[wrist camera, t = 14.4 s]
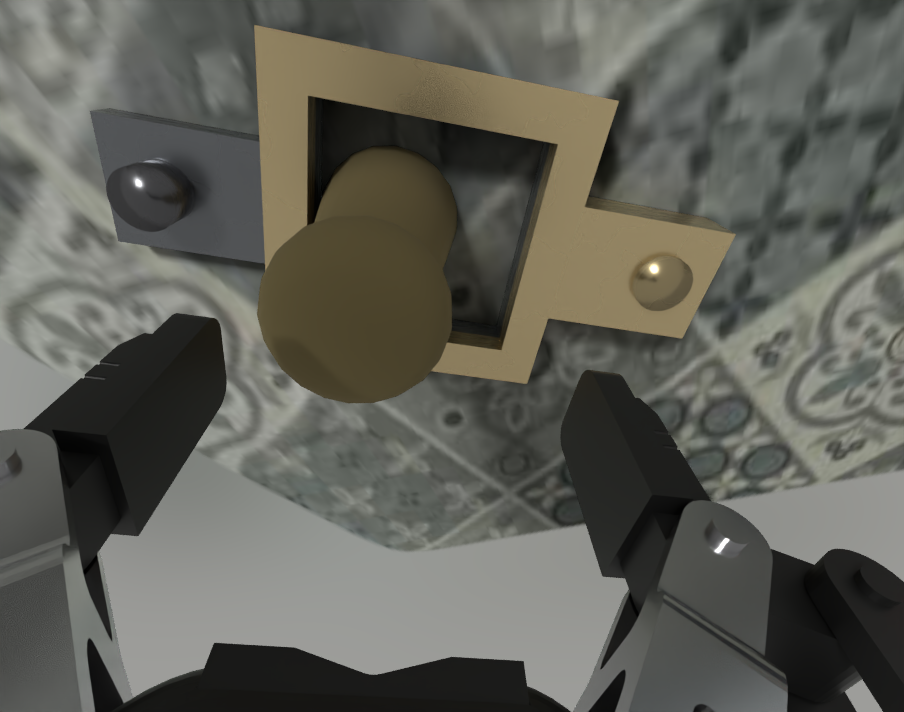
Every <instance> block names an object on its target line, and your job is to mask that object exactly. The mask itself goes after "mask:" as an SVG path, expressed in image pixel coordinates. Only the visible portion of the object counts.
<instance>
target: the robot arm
mask: <svg viewBox="0 0 904 712" xmlns="http://www.w3.org/2000/svg"><path fill="white" fill-rule="evenodd" d="M225 392H226V370H225V361H224V353H223V344H222V335H221V328H220V324H219V322H218V320H217V319H215V318H209V317H201V316H194V315H187V314H179V313H176V314H173V315H172V316H171V317H170V318H169V319H168V320H167V321H166V322H164V323H163V324H162V325H161V326H160V327H159V328H158V329H157V330H156V331H155V332H154V333H153V334H147V333H144V334H142V335H139V336H137V337H135V338H133V339H131V340H129V341H126V342H124V343H122V344H120V345H118V346H117V347H116V348H114V349H113V350H112V351H111V352H110V353H109V354H108V355H107V356H105V357H104V358H103V359H102V360H101V361H100V365H95V366H94V367H93V368H92V369H91V370H90V371H88V372H87V373H86V374H85V378H84V379H83V378H81V379H79V380H78V381H77V382H76V383H75V384H74V385H73V386H71V387H70V388H69V389H68V390H67V391H66V392H65V393H64V394H62V395H61V396H60V397H59V398H58V399H57V400H56V401H55V402H53V403H52V404H51V405H50V406H49V407H48V408H47V409H46V410H44V411H43V412H42V413H41V414H40V415H39V416H37V417H36V418H35V419H34V420H33V421H32V422H31V423H30V424H28V425H27V426H26V427H25V428H24V429H12V430H3V431H0V712H570V711H569V710H568V709H567V708H565V707H564V706H562V705H561V704H559V703H558V702H556V701H555V700H554V699H552V698H550V697H548V696H547V695H545V694H543V693H541V692H539V691H537V690H535V689H533V688H530V687H527V683H526V676H525V669H524V662H523V661H510V660H494V659H477V658H461V657H450V658H446V659H441V660H437V661H433V662H429V663H425V664H421V665H416V666H412V667H409V668H404V669H400V670H396V671H392V672H387V673H384V674H378V675H369V674H365V673H362V672H359V671H356V670H354V669H351V668H348V667H346V666H343V665H340V664H337V663H335V662H332V661H329V660H327V659H324V658H321V657H319V656H316V655H313V654H310V653H307V652H305V651H302V650H300V649H297V648H291V647H274V646H258V645H241V644H224V643H214V645H213V647H212V650H211V652H210V655H209V658H208V660H207V663H206V665H205V668H204V669H201V670H196V671H192V672H189V673H186V674H183V675H180V676H178V677H175V678H172V679H169V680H167V681H165V682H163V683H161V684H158V685H157V686H154V687H152V688H150V689H148V690H146V691H144V692H142V693H141V694H139V695H137V696H136V697H134V698H133V696H132V693H131V688H130V685H129V682H128V678H127V675H126V672H125V669H124V665H123V662H122V658H121V654H120V649H119V645H118V640H117V635H116V629H115V624H114V619H113V614H112V609H111V603H110V598H109V593H108V588H107V583H106V578H105V573H104V568H103V562H102V558H101V555H100V553H99V550H100V549H101V547H102V546H103V544H104V543H105V541H106V540H107V538H108V537H109V535H110V534H120V535H131V536H139V534H140V533H141V531H142V529H143V528H144V526H145V525H146V523H147V522H148V520H149V518H150V517H151V515H152V514H153V512H154V510H155V509H156V507H157V506H158V504H159V503H160V501H161V499H162V498H163V496H164V495H165V493H166V492H167V490H168V488H169V487H170V485H171V484H172V482H173V481H174V479H175V477H176V476H177V474H178V473H179V471H180V470H181V468H182V466H183V465H184V463H185V462H186V460H187V459H188V457H189V455H190V454H191V452H192V451H193V449H194V448H195V446H196V444H197V443H198V441H199V440H200V438H201V437H202V435H203V433H204V432H205V430H206V429H207V427H208V426H209V424H210V422H211V421H212V419H213V418H214V416H215V415H216V413H217V411H218V410H219V408H220V406H221V404H222V402H223V399H224V396H225ZM561 446H562V450H563V453H564V456H565V459H566V462H567V466H568V469H569V472H570V475H571V478H572V481H573V485H574V488H575V491H576V494H577V497H578V500H579V504H580V507H581V510H582V513H583V516H584V519H585V523H586V526H587V529H588V532H589V535H590V538H591V542H592V545H593V548H594V551H595V554H596V557H597V560H598V564H599V567H600V570H601V573H602V576H604V577H616V578H625V579H626V582H627V584H628V587H629V590H628V592H627V593H626V594H625V596H624V598H623V600H622V602H621V605H620V607H619V610H618V612H617V615H616V617H615V620H614V622H613V624H612V627H611V629H610V632H609V634H608V637H607V639H606V642H605V644H604V647H603V649H602V652H601V654H600V656H599V659H598V661H597V664H596V666H595V669H594V671H593V674H592V676H591V678H590V681H589V683H588V685H587V687H586V689H585V691H584V692H583V694H582V696H581V698H580V700H579V701H578V703H577V705H576V707H575V709H574V711H573V712H856V710H855V708H854V707H853V705H852V703H851V702H850V700H849V698H848V696H847V695H846V693H845V691H846V690H847V689H849V688H850V687H852V686H853V685H854V684H856V683H857V682H859V681H860V680H862V679H863V681H864V682H865V684H866V686H867V687H868V689H869V690H870V692H871V693H872V695H873V696H874V698H875V700H876V701H877V703H878V704H879V706H880V707H881V709H882V711H883V712H904V582H903V581H902V580H901V579H899V578H898V577H897V576H896V575H895V574H893V573H892V572H891V571H889V570H888V569H887V568H885V567H884V566H882V565H880V564H879V563H877V562H876V561H874V560H872V559H870V558H868V557H866V556H864V555H861V554H859V553H856V552H853V551H850V550H845V549H833V550H830V551H828V552H827V553H826V554H825V555H824V556H823V557H822V558H821V559H820V560H819V561H818V562H817V563H816V564H815V565H813V564H810V563H808V562H805V561H803V560H800V559H797V558H794V557H791V556H789V555H786V554H783V553H781V552H778V551H775V550H772V549H770V547H769V545H768V543H767V541H766V540H765V538H764V537H763V535H762V534H761V533H760V532H759V530H758V529H756V527H755V526H754V525H752V524H751V523H750V522H749V521H748V520H747V519H746V518H744V517H743V516H741V515H740V514H739V513H737V512H735V511H734V510H732V509H730V508H728V507H726V506H724V505H721V504H718V503H715V502H711V500H710V499H709V497H708V495H707V494H706V492H705V491H704V489H703V487H702V486H701V484H700V482H699V481H698V479H697V478H696V476H695V474H694V473H693V471H692V470H691V468H690V466H689V465H688V463H687V461H686V460H685V458H684V457H683V455H682V453H681V452H680V450H677V445H676V444H675V442H674V440H673V439H672V437H671V435H668V431H667V429H666V427H665V426H664V424H663V422H662V421H661V419H660V418H659V416H658V414H656V413H655V412H654V411H653V410H652V409H651V408H650V407H649V406H648V405H647V404H645V403H644V402H643V401H642V400H641V399H640V398H635V397H634V395H633V394H632V392H631V390H630V389H629V387H628V385H627V383H626V382H625V380H624V378H623V377H622V376H621V375H620V374H615V373H608V372H600V371H593V370H586V371H585V372H584V373H583V374H582V376H581V378H580V380H579V382H578V385H577V387H576V390H575V392H574V395H573V397H572V400H571V402H570V405H569V407H568V410H567V412H566V415H565V417H564V420H563V423H562V427H561Z"/></svg>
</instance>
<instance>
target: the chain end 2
mask: <svg viewBox="0 0 904 712" xmlns="http://www.w3.org/2000/svg"><path fill="white" fill-rule="evenodd" d="M254 30H255V52H256V74H257V96H258V118H259V140H260V163H261V185H262V207H263V229H264V251H265V271H266V269H267V267H268V265H269V263H270V261H271V259H272V257H273V256H274V254H275V252H276V251H277V250H278V249H279V248H280V247H281V246H282V245H283V244H284V243H285V242H287V241H288V240H289V239H290V238H291V237H292V236H294V235H295V234H296V233H297V232H298V231H300V230H301V229H302V228H303V227H304V226H307V225H310V224H313V223H314V195H315V126H316V97H318V98H324V99H329V100H334V101H339V102H344V103H349V104H354V105H359V106H365V107H370V108H375V109H380V110H385V111H390V112H395V113H401V114H406V115H411V116H416V117H421V118H426V119H431V120H436V121H442V122H447V123H452V124H457V125H462V126H467V127H472V128H477V129H483V130H488V131H493V132H498V133H503V134H508V135H513V136H518V137H524V138H529V139H534V140H539V141H544V142H549V143H550V147H549V151H548V155H547V158H546V162H545V166H544V170H543V173H542V177H541V181H540V185H539V188H538V192H537V196H536V200H535V203H534V207H533V211H532V215H531V218H530V222H529V226H528V230H527V233H526V237H525V241H524V245H523V248H522V252H521V256H520V260H519V264H518V267H517V271H516V275H515V279H514V282H513V286H512V290H511V294H510V297H509V301H508V305H507V309H506V312H505V316H504V320H503V324H502V327H501V331H500V335H499V337H492V336H485V335H478V334H471V333H464V332H457V331H451V333H450V336H449V338H448V341H447V344H446V347H445V349H444V352H443V354H442V356H441V358H440V360H439V362H438V363H437V364H436V366H435V367H434V368H433V369H432V370H431V371H434V372H441V373H449V374H456V375H464V376H471V377H479V378H486V379H494V380H501V381H509V382H516V383H524V384H527V382H528V379H529V376H530V373H531V370H532V367H533V364H534V361H535V358H536V355H537V352H538V349H539V346H540V342H541V339H542V336H543V333H544V330H545V327H546V324H547V321H548V318H549V319H556V320H563V321H569V322H576V323H583V324H589V325H596V326H602V327H609V328H616V329H622V330H629V331H636V332H642V333H649V334H655V335H662V336H669V337H675V338H683V336H684V334H685V332H686V330H687V328H688V326H689V324H690V322H691V320H692V318H693V316H694V315H695V313H696V311H697V309H698V307H699V305H700V303H701V301H702V299H703V297H704V295H705V293H706V291H707V289H708V287H709V285H710V283H711V282H712V280H713V278H714V276H715V274H716V272H717V270H718V268H719V266H720V264H721V262H722V260H723V258H724V256H725V254H726V252H727V250H728V248H729V247H730V245H731V243H732V241H733V239H734V237H735V235H736V234H734V233H733V232H731V231H729V230H727V229H726V228H724V227H722V226H720V225H719V224H717V223H715V222H713V221H711V220H710V219H708V218H705V217H699V216H694V215H688V214H683V213H677V212H672V211H667V210H661V209H656V208H650V207H645V206H639V205H634V204H628V203H623V202H617V201H612V200H607V199H601V198H596V197H590V196H588V195H589V192H590V189H591V185H592V182H593V179H594V176H595V173H596V170H597V167H598V164H599V161H600V158H601V155H602V152H603V149H604V145H605V142H606V139H607V136H608V133H609V130H610V127H611V124H612V121H613V118H614V115H615V112H616V109H617V105H618V102H619V101H616V100H611V99H606V98H602V97H597V96H592V95H587V94H583V93H578V92H573V91H568V90H563V89H559V88H554V87H549V86H544V85H539V84H535V83H530V82H525V81H520V80H516V79H511V78H506V77H501V76H496V75H492V74H487V73H482V72H477V71H472V70H468V69H463V68H458V67H453V66H449V65H444V64H439V63H434V62H429V61H425V60H420V59H415V58H410V57H406V56H401V55H396V54H391V53H386V52H382V51H377V50H372V49H367V48H362V47H358V46H353V45H348V44H343V43H339V42H334V41H329V40H324V39H319V38H315V37H310V36H305V35H300V34H295V33H291V32H286V31H281V30H276V29H272V28H267V27H262V26H257V25H254Z"/></svg>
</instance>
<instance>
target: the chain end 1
mask: <svg viewBox="0 0 904 712" xmlns="http://www.w3.org/2000/svg"><path fill="white" fill-rule="evenodd" d="M90 113H91V118H92V123H93V127H94V132H95V136H96V141H97V145H98V150H99V154H100V159H101V164H102V168H103V173H104V177H105V182H106V190H107V196H108V199H109V202H110V205H111V209H112V214H113V218H114V223H115V227H116V232H117V237H118V241H120V242H127V243H133V244H140V245H146V246H153V247H159V248H166V249H172V250H179V251H185V252H192V253H198V254H205V255H211V256H218V257H224V258H231V259H237V260H244V261H250V262H257V263H264V264H265V251H264V229H263V207H262V185H261V163H260V140H259V136H257V135H252V134H247V133H241V132H236V131H230V130H225V129H219V128H214V127H208V126H203V125H198V124H192V123H187V122H181V121H176V120H170V119H165V118H159V117H154V116H148V115H143V114H138V113H132V112H127V111H121V110H116V109H110V108H109V109H101V110H93V111H90ZM322 121H323V98H318V97H316V126H315V195H314V222H315V218H316V215H317V212H318V209H319V206H320V203H321V167H322ZM549 147H550V143H549V142H544V144H543V147H542V151H541V155H540V159H539V163H538V167H537V171H536V174H535V178H534V182H533V186H532V190H531V194H530V198H529V201H528V205H527V209H526V213H525V217H524V221H523V225H522V229H521V232H520V236H519V240H518V244H517V248H516V252H515V256H514V259H513V263H512V267H511V271H510V275H509V279H508V283H507V286H506V290H505V294H504V298H503V302H502V306H501V310H500V313H499V317H498V321H497V325H496V326H494V325H487V324H480V323H474V322H467V321H460V320H453V319H452V330H451V331H457V332H464V333H471V334H478V335H485V336H492V337H499V335H500V331H501V327H502V324H503V320H504V316H505V312H506V309H507V305H508V301H509V297H510V294H511V290H512V286H513V282H514V279H515V275H516V271H517V267H518V264H519V260H520V256H521V252H522V248H523V245H524V241H525V237H526V233H527V230H528V226H529V222H530V218H531V215H532V211H533V207H534V203H535V200H536V196H537V192H538V188H539V185H540V181H541V177H542V173H543V170H544V166H545V162H546V158H547V155H548V151H549Z"/></svg>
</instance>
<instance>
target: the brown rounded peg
mask: <svg viewBox="0 0 904 712" xmlns="http://www.w3.org/2000/svg"><path fill="white" fill-rule="evenodd" d="M456 230H457V206H456V203H455V200H454V197H453V193H452V190H451V187H450V185H449V184H448V182H447V181H446V179H445V178H444V177H443V175H442V174H441V172H440V171H439V170H438V168H437V167H436V166H434V165H433V164H432V163H430V162H429V161H428V160H426V159H425V158H424V157H422V156H421V155H420V154H418V153H416V152H413V151H410V150H407V149H404V148H401V147H398V146H372V147H370V148H367V149H364V150H362V151H359V152H356V153H354V154H352V155H351V156H349V157H348V158H347V159H346V160H345V161H344V162H343V163H341V164H340V165H339V166H338V167H337V168H336V169H335V171H334V173H333V174H332V176H331V178H330V180H329V182H328V184H327V185H326V187H325V190H324V193H323V197H322V200H321V203H320V206H319V209H318V212H317V215H316V218H315V222H314V223H313V224H310V225H307V226H304V227H303V228H302V229H301V230H300V231H298V232H297V233H296V234H295V235H294V236H292V237H291V238H290V239H289V240H288V241H287V242H285V243H284V244H283V245H282V246H281V247H280V248H279V249H278V250H277V251H276V252H275V254H274V256H273V257H272V259H271V261H270V263H269V265H268V267H267V269H266V271H265V272H264V274H263V276H262V279H261V285H260V292H259V301H258V311H257V316H258V320H259V324H260V328H261V331H262V335H263V339H264V342H265V343H266V345H267V347H268V349H269V350H270V352H271V353H272V355H273V356H274V358H275V360H276V361H277V363H278V364H279V366H280V367H281V369H282V370H283V371H284V372H285V373H287V374H288V375H289V376H290V377H291V378H292V379H293V380H295V381H296V382H297V383H298V384H299V385H300V386H302V387H304V388H306V389H308V390H310V391H312V392H314V393H316V394H318V395H320V396H322V397H324V398H328V399H332V400H337V401H341V402H345V403H374V402H378V401H381V400H385V399H389V398H392V397H396V396H398V395H400V394H402V393H404V392H405V391H407V390H408V389H410V388H412V387H413V386H415V385H416V384H418V383H420V382H421V381H423V380H424V379H425V378H426V376H427V375H428V374H429V373H430V372H431V370H432V369H433V368H434V367H435V366H436V364H437V363H438V362H439V360H440V358H441V356H442V354H443V352H444V349H445V347H446V344H447V341H448V338H449V336H450V333H451V330H452V299H451V292H450V289H449V286H448V283H447V281H446V278H445V275H444V272H443V268H444V265H445V262H446V259H447V257H448V254H449V251H450V248H451V245H452V242H453V239H454V236H455V233H456Z"/></svg>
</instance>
